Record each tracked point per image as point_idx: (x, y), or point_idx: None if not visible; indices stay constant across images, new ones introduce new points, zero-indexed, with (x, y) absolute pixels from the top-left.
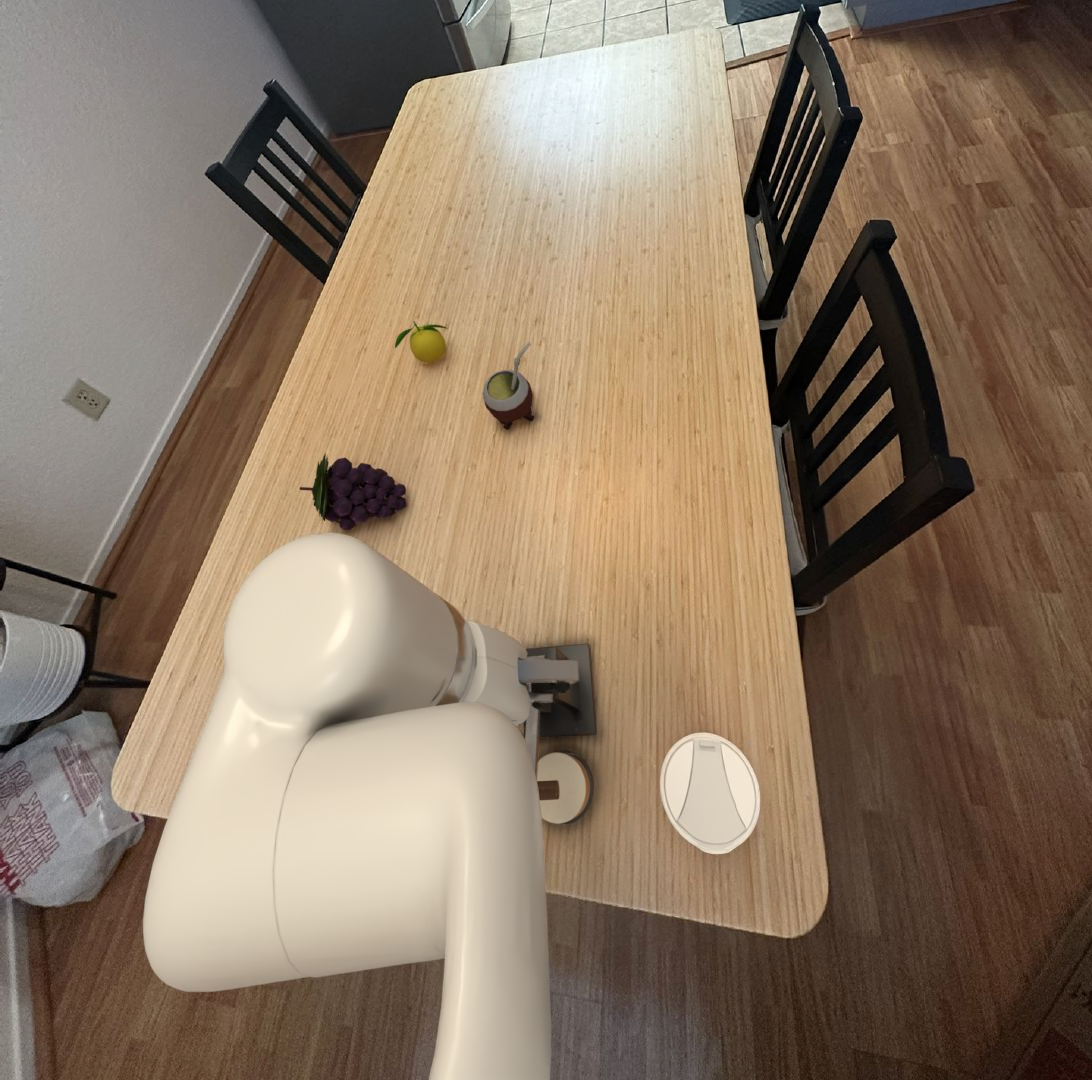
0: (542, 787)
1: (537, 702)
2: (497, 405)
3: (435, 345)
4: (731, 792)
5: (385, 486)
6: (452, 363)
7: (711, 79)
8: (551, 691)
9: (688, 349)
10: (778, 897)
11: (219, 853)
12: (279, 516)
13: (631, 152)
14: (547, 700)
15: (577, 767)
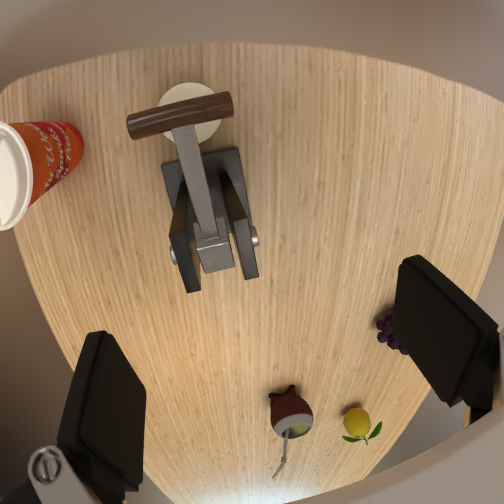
0: (152, 126)
1: (62, 469)
2: (300, 419)
3: (351, 427)
4: None
5: (395, 342)
6: (338, 408)
7: None
8: (36, 497)
9: (156, 437)
10: (12, 94)
11: None
12: (461, 288)
13: (224, 498)
14: (33, 484)
15: (168, 135)
